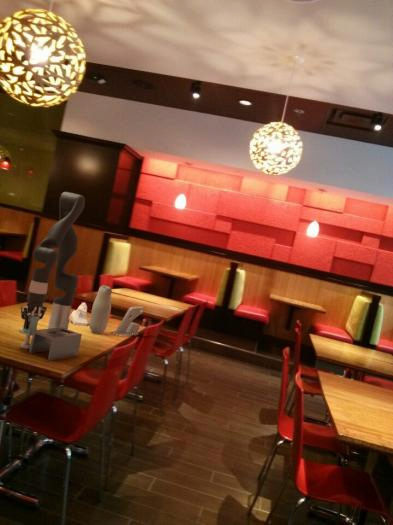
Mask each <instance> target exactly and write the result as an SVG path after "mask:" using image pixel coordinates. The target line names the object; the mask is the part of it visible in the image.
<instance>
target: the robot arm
mask: <svg viewBox="0 0 393 525" xmlns="http://www.w3.org/2000/svg"><path fill="white" fill-rule="evenodd" d="M85 205H86V200H85V197H84V196H83V195H81V194H78V193H74V192H70V191H69V192H68V191H64V192H62V193H61V195H60V196H59V207H58V208H59V209H58V210H59V214H58V216H59V221H57V222H55V223H54V224H53V225H52V226H51V227H50V229H49V231H48V233H47V235H46V236H45V237H44V238H43V240H42V241H41V242H40V243H39V244H37V246H36V247H35V248H34V250H33V252H32V259H33V260H34V261H35V262H37V263H41V264H45V265H44V266H43V267H35V268H34V270H33V273H32V278H31V282H30V284H29V288H28V293H27V297H26V301H27V303H26V305H25V306H20V317H21V319H22V320H24V321H25V322H23V326H24V329H26V330H27V329H29V324H30V320H31V317H33V315H35V316H37V317H39V319H38V322H39V321H40V320H43V318H44V315H45V314H46V311H47V308H48V307H47V306H44V303H46V296H47V293H48V286H49V281H50V277H51V276H50V275H51V273H52V270H53V268H54V267H55V265H56V267H55V275H54V282H53V285H54V288H55V289H56V290H59V291H62V292H65V294H63V295H61V296H55V297H54V298H53V302H52V307H51V312H50V317H49V321H48V325H47V329H50V328H60V327H62V328H65V329H68V330H69V325H70V315H71V310H72V306H73V301H74V299H75V295H76V291H77V287H78V282H79V278H78V276H77V275H75V274H72V273H68V272H66V267H67V265H68V262H69V261H70V260H71V259H72V258H73V257H74V256H75V254H76V253H77V250H78V241H79V240H78V234H77V233H76V230H75V228H74V226H73V224H74V223H75V222H76V221H77V220H78V218H79V216H80V215H81V214H82V212H83V210H84V208H85ZM56 249H57V250H56ZM28 316H29V318H28ZM63 333H64V334H68V333H65V332H63Z"/></svg>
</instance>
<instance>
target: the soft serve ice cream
mask: <svg viewBox="0 0 393 525" xmlns="http://www.w3.org/2000/svg"><path fill="white" fill-rule="evenodd" d="M69 319H70V320H71V322H72V324H73V325H76V326H84V327H88V326H87V325H89V323H90V319H89V318H88V306H87V303H86V302H81V304H80V305H79V306H78V308H77V309H76V310H75V309H74V310H73V311H72V312H71V313H70V315H69Z"/></svg>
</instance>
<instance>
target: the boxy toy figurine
mask: <svg viewBox="0 0 393 525" xmlns="http://www.w3.org/2000/svg"><path fill="white" fill-rule="evenodd" d="M28 318H29V316H28ZM38 319H39V317H37V316H35V315H33V317H31V320H30V324H29V329H27V330H26V329H24V325H23V327H22V329H19V330H18V332H19V333H20V334H23V335H25V340H24V342H21V344H20V348H21V349H25V350H30V345H31V343H30V342H31V341H30V339H31V337H32V336H33V331H34V330H38V324H39V321H38ZM24 322H25V320H24ZM24 322H23V323H24Z"/></svg>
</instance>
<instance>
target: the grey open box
mask: <svg viewBox="0 0 393 525" xmlns="http://www.w3.org/2000/svg"><path fill="white" fill-rule="evenodd" d="M63 332H65V333H67V334H64V333H63ZM82 335H83V334H82V333H79V332H77V331H74V330H71V329H69V328H68V329H65V328H62V327H60V328H50V329H48V328H43V329H42V328H41V329H40V328H39V329H36V330H34V331H33V335H31V337H32V338H31V341H30V344H31V345H30V349H28V353H29V354H34V353H40V352H47V351H48V352H49V353H48V357H47V361H49V362H50V361H54V360H61V359H65V358H71V357H75V356H78V355H79V351H80V350H79V349H80V344H81V340H82V337H83V336H82Z"/></svg>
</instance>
